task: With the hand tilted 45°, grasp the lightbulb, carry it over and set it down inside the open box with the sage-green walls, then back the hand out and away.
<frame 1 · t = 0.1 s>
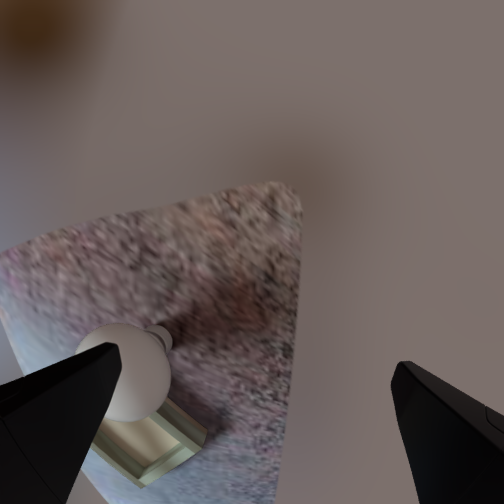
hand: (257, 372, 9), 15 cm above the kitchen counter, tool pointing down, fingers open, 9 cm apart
open box: (137, 422, 25), on the kitchen counter
lightbulb: (160, 337, 25), on the kitchen counter
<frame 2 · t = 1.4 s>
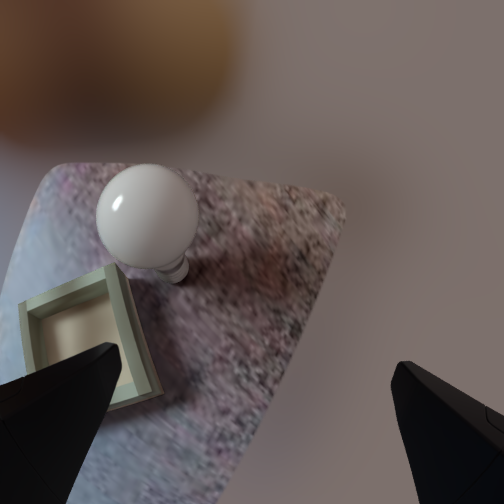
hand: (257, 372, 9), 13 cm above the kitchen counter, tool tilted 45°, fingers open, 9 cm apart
open box: (90, 352, 21), on the kitchen counter
lightbulb: (175, 272, 25), on the kitchen counter
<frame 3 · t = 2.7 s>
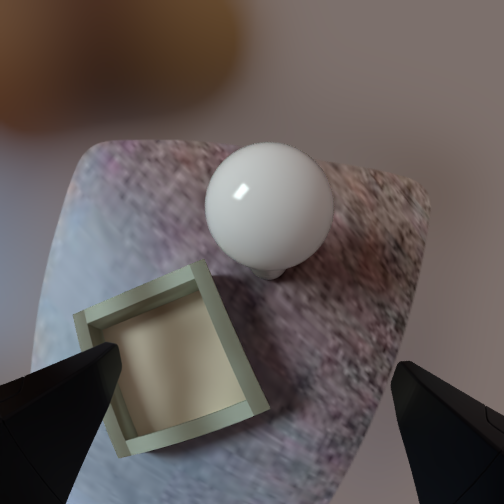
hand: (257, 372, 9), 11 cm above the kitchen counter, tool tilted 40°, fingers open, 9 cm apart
open box: (171, 365, 20), on the kitchen counter
lightbulb: (267, 266, 23), on the kitchen counter
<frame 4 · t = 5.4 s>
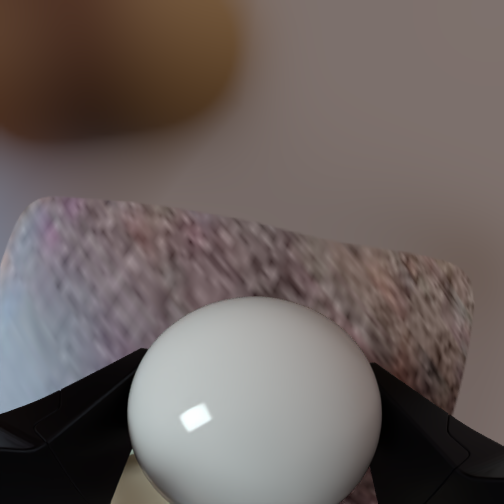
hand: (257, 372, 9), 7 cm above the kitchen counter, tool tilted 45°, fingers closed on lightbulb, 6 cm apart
lightbulb: (253, 412, 14), on the kitchen counter, touching gripper
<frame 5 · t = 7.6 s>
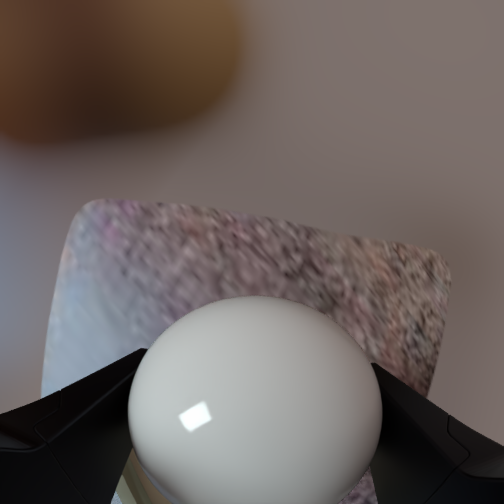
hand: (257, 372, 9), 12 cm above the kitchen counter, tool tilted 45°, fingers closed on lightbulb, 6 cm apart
open box: (192, 460, 17), on the kitchen counter
lightbulb: (254, 411, 14), point 5 cm above the kitchen counter, touching gripper
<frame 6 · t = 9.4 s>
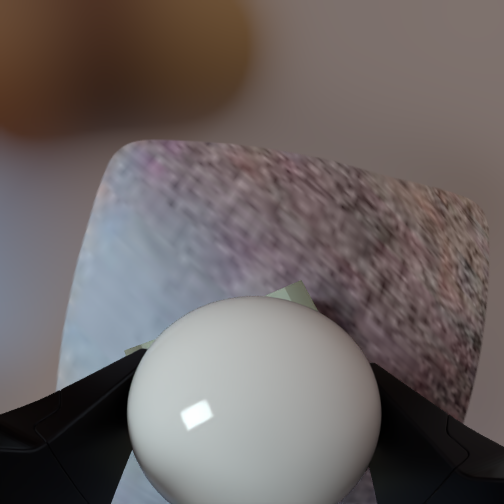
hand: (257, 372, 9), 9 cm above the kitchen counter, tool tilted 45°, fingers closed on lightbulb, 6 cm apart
open box: (252, 407, 16), on the kitchen counter
lightbulb: (253, 411, 14), point 2 cm above the kitchen counter, touching gripper
when the fingers open (9 cm above the kitchen counter, at t = 9.4 s): lightbulb drops 1 cm, resting on open box.
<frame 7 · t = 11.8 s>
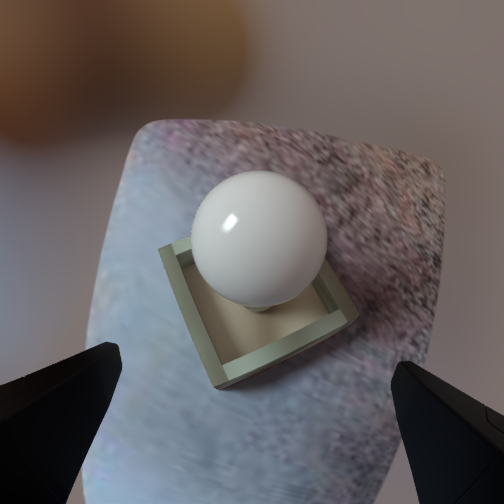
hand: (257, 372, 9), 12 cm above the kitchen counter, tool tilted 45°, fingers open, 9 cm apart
open box: (254, 298, 22), on the kitchen counter
lightbulb: (256, 297, 22), point 1 cm above the kitchen counter, touching open box
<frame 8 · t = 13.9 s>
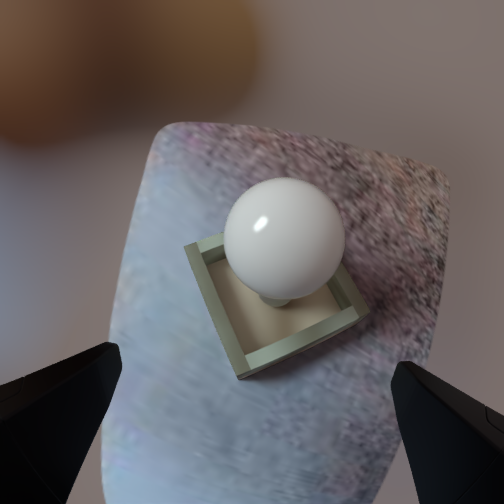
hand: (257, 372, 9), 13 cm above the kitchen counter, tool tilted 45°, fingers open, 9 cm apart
open box: (272, 294, 24), on the kitchen counter
lightbulb: (274, 293, 23), point 1 cm above the kitchen counter, touching open box
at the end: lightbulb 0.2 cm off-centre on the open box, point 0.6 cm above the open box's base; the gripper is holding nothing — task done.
